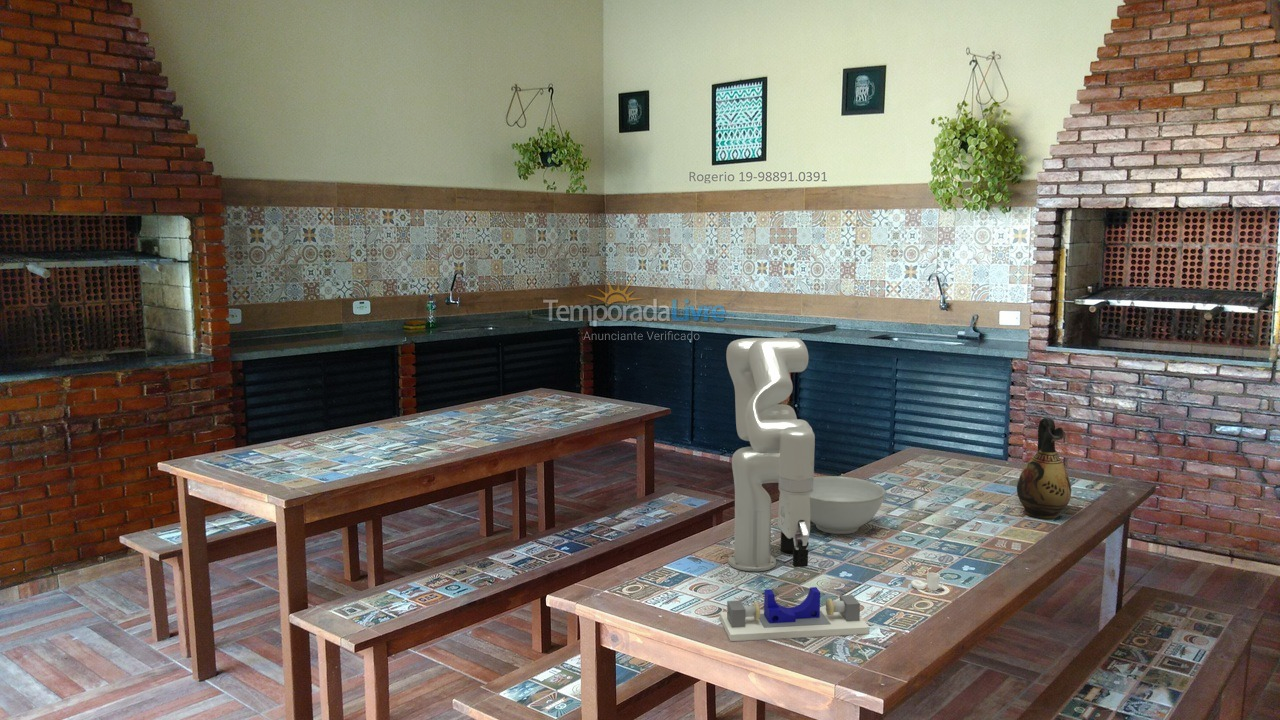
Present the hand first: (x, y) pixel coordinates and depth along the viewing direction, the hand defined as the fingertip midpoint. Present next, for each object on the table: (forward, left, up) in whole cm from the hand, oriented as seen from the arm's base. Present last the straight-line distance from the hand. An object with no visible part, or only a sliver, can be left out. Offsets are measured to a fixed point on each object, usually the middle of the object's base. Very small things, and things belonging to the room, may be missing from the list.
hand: (793, 558), depth 207 cm
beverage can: (-46, +13, -16) cm, 50 cm away
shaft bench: (0, 0, -16) cm, 16 cm away
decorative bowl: (-65, +32, -16) cm, 74 cm away
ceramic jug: (-70, +99, -16) cm, 122 cm away
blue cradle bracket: (0, 0, -14) cm, 14 cm away
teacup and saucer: (-19, +40, -16) cm, 47 cm away
